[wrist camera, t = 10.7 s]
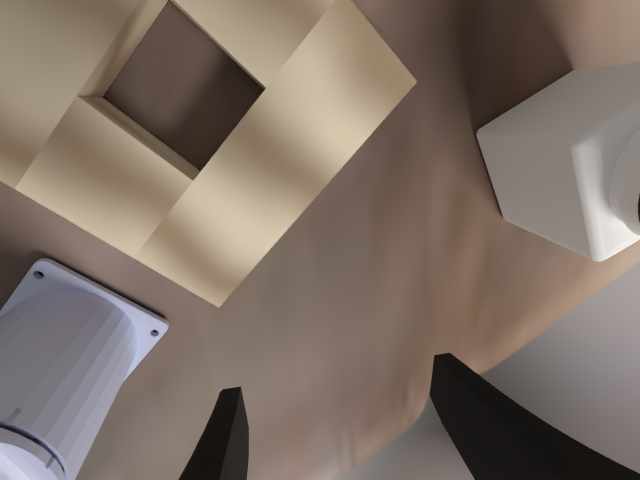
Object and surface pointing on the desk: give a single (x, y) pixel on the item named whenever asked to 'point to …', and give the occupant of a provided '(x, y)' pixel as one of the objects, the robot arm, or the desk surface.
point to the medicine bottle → (572, 160)
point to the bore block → (161, 161)
